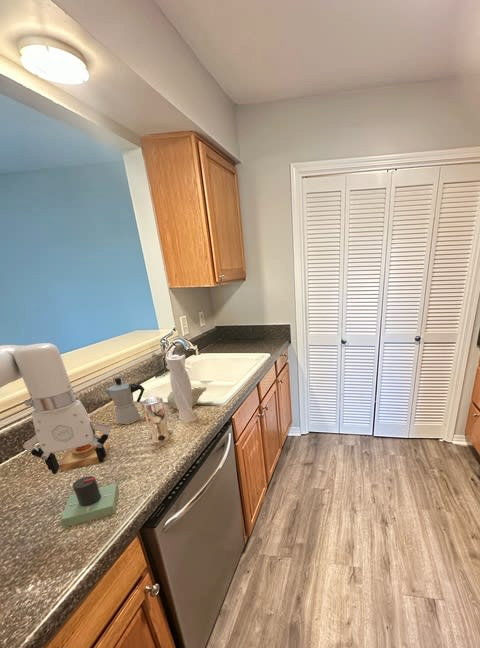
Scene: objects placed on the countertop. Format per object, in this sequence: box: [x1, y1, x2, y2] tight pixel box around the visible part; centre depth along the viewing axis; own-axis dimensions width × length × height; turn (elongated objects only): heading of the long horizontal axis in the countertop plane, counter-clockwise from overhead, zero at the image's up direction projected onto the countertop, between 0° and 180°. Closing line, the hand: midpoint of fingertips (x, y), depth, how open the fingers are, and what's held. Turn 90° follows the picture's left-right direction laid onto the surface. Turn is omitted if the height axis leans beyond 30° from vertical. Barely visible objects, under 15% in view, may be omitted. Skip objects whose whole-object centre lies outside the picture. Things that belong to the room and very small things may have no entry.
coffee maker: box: [102, 377, 146, 424], centre depth 128 cm, size 15×9×18 cm, turn 104°
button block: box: [59, 441, 110, 472], centre depth 105 cm, size 12×10×4 cm
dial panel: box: [60, 483, 120, 529], centre depth 82 cm, size 11×10×3 cm
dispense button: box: [76, 444, 90, 451], centre depth 104 cm, size 4×4×2 cm
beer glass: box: [141, 396, 172, 444], centre depth 112 cm, size 7×7×15 cm
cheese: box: [167, 386, 208, 410], centre depth 141 cm, size 15×7×15 cm
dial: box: [72, 475, 101, 506], centre depth 81 cm, size 5×5×6 cm
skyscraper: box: [165, 349, 197, 424], centre depth 124 cm, size 8×8×28 cm
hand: (79, 465), depth 78 cm, fingers open, 9 cm apart
